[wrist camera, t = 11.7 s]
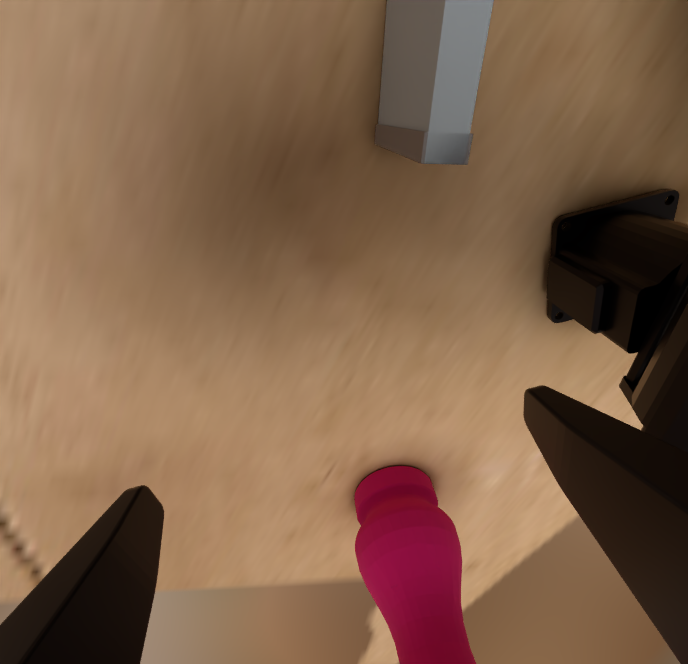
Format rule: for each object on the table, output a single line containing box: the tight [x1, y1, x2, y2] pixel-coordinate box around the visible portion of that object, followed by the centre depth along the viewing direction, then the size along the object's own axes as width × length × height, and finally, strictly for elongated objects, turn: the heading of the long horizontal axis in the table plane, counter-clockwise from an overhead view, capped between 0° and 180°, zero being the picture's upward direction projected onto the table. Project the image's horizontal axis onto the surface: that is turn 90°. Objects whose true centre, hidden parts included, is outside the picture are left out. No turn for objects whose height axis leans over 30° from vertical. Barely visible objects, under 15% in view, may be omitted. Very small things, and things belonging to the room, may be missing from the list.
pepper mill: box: [354, 466, 476, 664], centre depth 22 cm, size 7×7×20 cm
